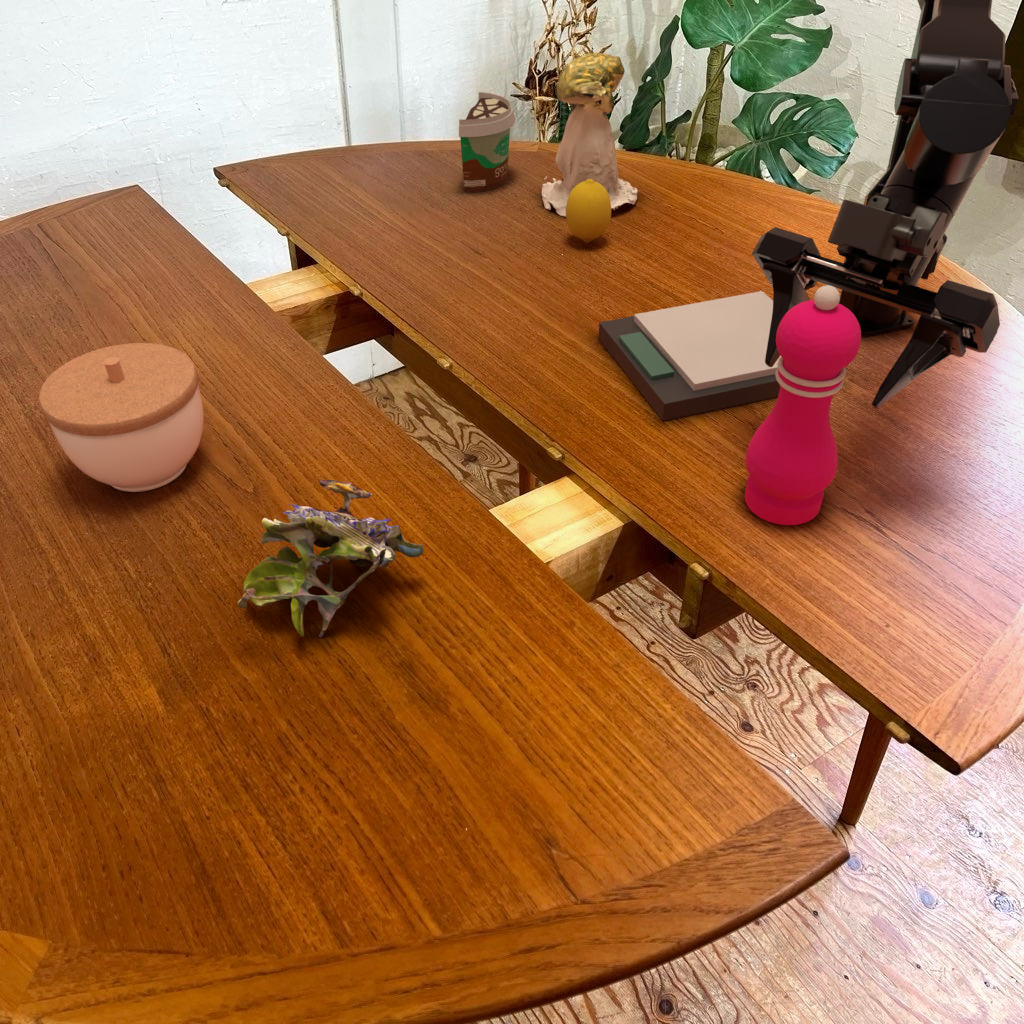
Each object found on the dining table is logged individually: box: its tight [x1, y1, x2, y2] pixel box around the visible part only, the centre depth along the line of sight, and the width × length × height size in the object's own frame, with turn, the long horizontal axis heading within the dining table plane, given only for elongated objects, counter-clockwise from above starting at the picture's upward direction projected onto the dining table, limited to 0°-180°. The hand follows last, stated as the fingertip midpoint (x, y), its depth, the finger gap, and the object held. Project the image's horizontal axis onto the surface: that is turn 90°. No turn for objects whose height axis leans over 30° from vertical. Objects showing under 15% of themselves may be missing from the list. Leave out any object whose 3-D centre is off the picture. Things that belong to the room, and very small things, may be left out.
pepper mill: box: [744, 284, 862, 526], centre depth 75 cm, size 7×7×20 cm
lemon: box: [565, 179, 612, 244], centre depth 117 cm, size 6×6×8 cm
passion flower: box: [237, 479, 425, 638], centre depth 71 cm, size 11×11×12 cm
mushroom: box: [541, 52, 639, 218], centre depth 123 cm, size 12×13×18 cm
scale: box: [598, 290, 781, 422], centre depth 97 cm, size 19×16×3 cm
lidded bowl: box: [38, 342, 205, 493], centre depth 82 cm, size 13×13×11 cm
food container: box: [458, 91, 516, 193], centre depth 132 cm, size 12×6×10 cm, turn 168°
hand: (819, 385), depth 75 cm, fingers open, 9 cm apart
